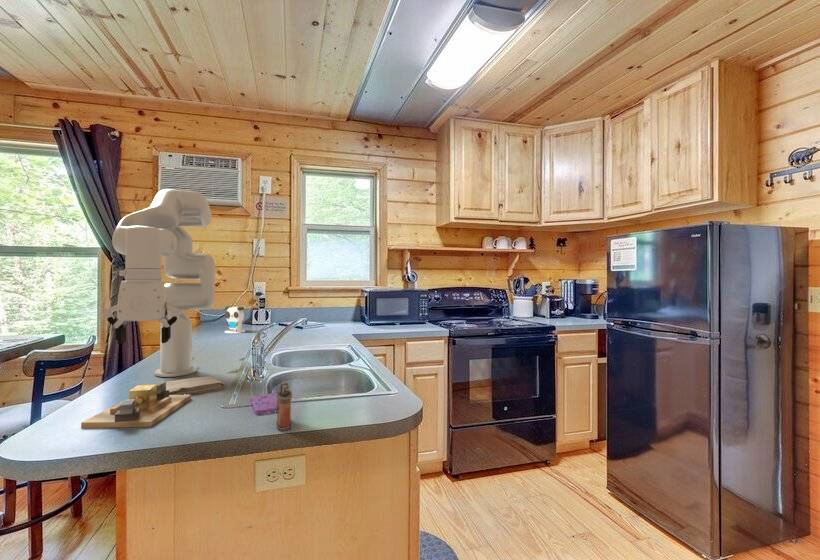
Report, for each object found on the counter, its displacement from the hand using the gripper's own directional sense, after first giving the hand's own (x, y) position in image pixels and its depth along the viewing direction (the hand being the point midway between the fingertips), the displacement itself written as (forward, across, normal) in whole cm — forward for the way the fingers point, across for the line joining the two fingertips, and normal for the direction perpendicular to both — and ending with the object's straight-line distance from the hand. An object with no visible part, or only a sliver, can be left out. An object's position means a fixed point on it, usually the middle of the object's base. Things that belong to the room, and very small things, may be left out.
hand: (143, 342), depth 100 cm
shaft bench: (+18, 0, -1) cm, 18 cm away
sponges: (+18, +30, -2) cm, 35 cm away
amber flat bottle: (+17, +35, -18) cm, 43 cm away
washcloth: (+19, +6, +18) cm, 26 cm away
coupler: (+16, 0, -1) cm, 16 cm away
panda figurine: (+21, 0, +138) cm, 139 cm away
